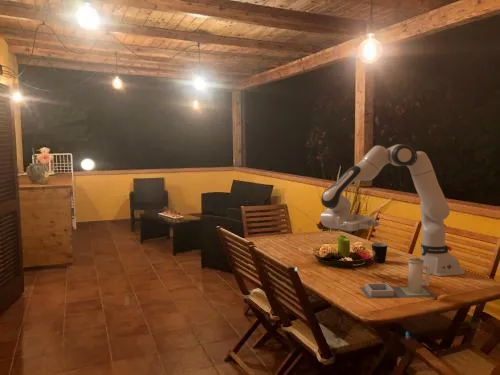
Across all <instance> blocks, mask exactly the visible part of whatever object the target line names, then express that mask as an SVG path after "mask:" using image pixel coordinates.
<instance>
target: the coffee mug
mask: <svg viewBox="0 0 500 375" xmlns="http://www.w3.org/2000/svg"><path fill="white" fill-rule="evenodd" d="M371 249H372V250H371V251H372V259H373V263H376V264H386V260H387V251H388V244H387V243H384V242H372V243H371Z"/></svg>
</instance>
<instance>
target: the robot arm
mask: <svg viewBox="0 0 500 375" xmlns="http://www.w3.org/2000/svg"><path fill="white" fill-rule="evenodd" d="M388 164H389V165H392V166H396V167H405V166H406V167H407V168H408V169H409V173H410V175H411V179H412V181H413V184H414V185H413V186H414V188H415V190H416V192H417V195H418V196H419V199H420V203H419V207H420V222H421V231H422V232H421V243H420V259H422V260H424V263H423V266H428V267H430V275H434V276H437V277H447V276H456V275H458V276H459V275H465V274H466V270H464V269H463V268H462V267H461V263H460V260H459V259H458V258H457V257H456V256H454V255H453V254H452V253H450V252H452V250H453V248H452V247H451V246H450V245H446V228H445V227H446V226H445V222H444V220H446V219H447V218H448V217H449V216H450V212H451V210H450V206H449V204H448V202H447V199H446V196H445V195H444V193H443V190H442V188H441V187H440V184H439V182H438V179H437V175H436V172H435V170H434V167H433V165H432V161H431V160H430V158H429V156H428V155H427V153H426V152H424V151H422V150H421V151H419V150H418V151H415V150H414V149H413V148H412V147H411V146H409V145H408V144H403V143H402V144H401V143H400V144H399V143H398V144H394V145H391V146H388V147H387V148H386V147H385V146H383V145H374V146H373V147H372V148H371V149H370V150H369V151H368V152H367V153H366V154H364V156H363V158H362V159H361V160H360V161H359V162H358V163H357V164H355V165H353V166H351V167H350V168H348V169H347V170H346V171H345V172H344V173H343V174H342V175H341V176H340V177H339V178H338V179H337V181H335V182H334V183H333V185H331V186H329V187H328V188H327V189H326V190H324V191H323V192H322V194H321V199H320V201H321V204H322V206H324V207H325V208H327V209H325V210H324V211H322V212H321V213H320V217H319V219H320V223H321V224H322V225H323V226H324V227H326V228H330V229H334V230H342V231H345V232H347V231H348V232H354V231H359V230H362V229H363V230H368V229H370V227H372V226H375V227H378V226H380V222H379V221H376V220H375V218H374V217H372V216H368V215H367V216H366V215H361V213H350V210H351V207H352V204H351V201H350V200H349V198H347V197H345V196H344V195H343V193H344V191H346V189H347V188H349V187H350V185H352V184H353V183H354V182H356V181H364V182H367V181H372V180H373V179H375V178H376V177H377V176H378V175H379V173H380V172H381V171H382V169H383V167H384V166H386V165H388ZM449 251H450V252H449ZM425 272H426V270H425V269H423V274H425Z"/></svg>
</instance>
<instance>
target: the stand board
mask: <svg viewBox="0 0 500 375" xmlns="http://www.w3.org/2000/svg"><path fill="white" fill-rule="evenodd" d="M359 289H360V290H361V291H362V293H363V294H364V295H365V297H366V298H367V299H404V298H405V299H410V298H419V299H420V298H433V299H432V300H433V301H435V300H438V296H436V294H434V292H432V291H431V290H429V289H428V288H427V287H426V285H422V292H421V293H412V292H409V291H408V285H407V286H401V285H400V286H391V285H389V284H388V282H371V283H369V282H367V283H364V286H359Z"/></svg>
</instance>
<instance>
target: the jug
mask: <svg viewBox="0 0 500 375" xmlns="http://www.w3.org/2000/svg"><path fill="white" fill-rule="evenodd" d="M407 262H408V267H407V268H408V272H407V286H408V291H409V292H412V293H421V292H422V286H425V287H426V286H427V287H428V286H430V278H431V277H430V275H431V274H430V267H428V266H423V263H424V260H422V259H421V258H415V257H410V258H408V259H407ZM423 269H425V270H426V272H425V273H423ZM423 274H424V275H425V276H423ZM423 277H425V278H424V280H423Z"/></svg>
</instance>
